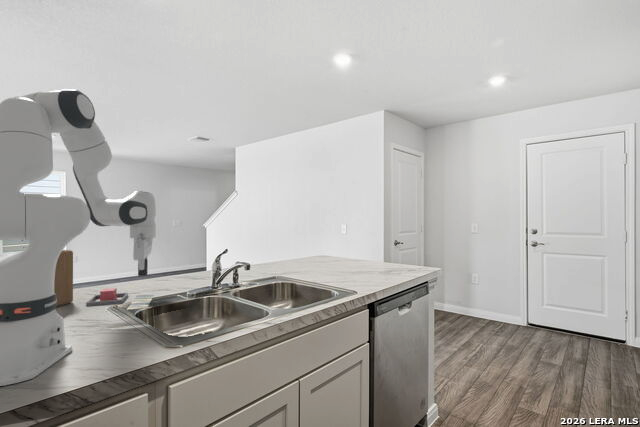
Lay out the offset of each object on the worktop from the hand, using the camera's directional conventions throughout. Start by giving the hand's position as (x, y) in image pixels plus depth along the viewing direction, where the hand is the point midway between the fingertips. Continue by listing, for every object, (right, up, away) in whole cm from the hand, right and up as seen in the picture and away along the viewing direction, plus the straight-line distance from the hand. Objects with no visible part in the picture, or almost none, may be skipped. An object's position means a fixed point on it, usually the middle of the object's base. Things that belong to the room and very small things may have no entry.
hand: (142, 268), depth 128 cm
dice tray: (-11, -12, -3) cm, 17 cm away
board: (+2, -13, -4) cm, 13 cm away
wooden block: (-30, -13, -7) cm, 33 cm away
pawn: (0, -3, 0) cm, 2 cm away
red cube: (-11, -12, -3) cm, 17 cm away
